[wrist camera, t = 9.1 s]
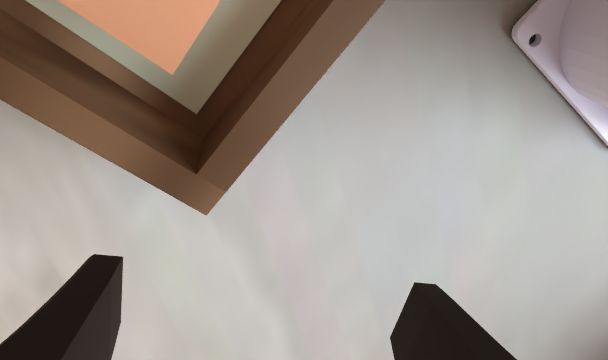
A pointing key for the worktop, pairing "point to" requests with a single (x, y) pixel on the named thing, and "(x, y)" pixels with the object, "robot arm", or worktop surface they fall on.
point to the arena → (174, 85)
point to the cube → (150, 24)
